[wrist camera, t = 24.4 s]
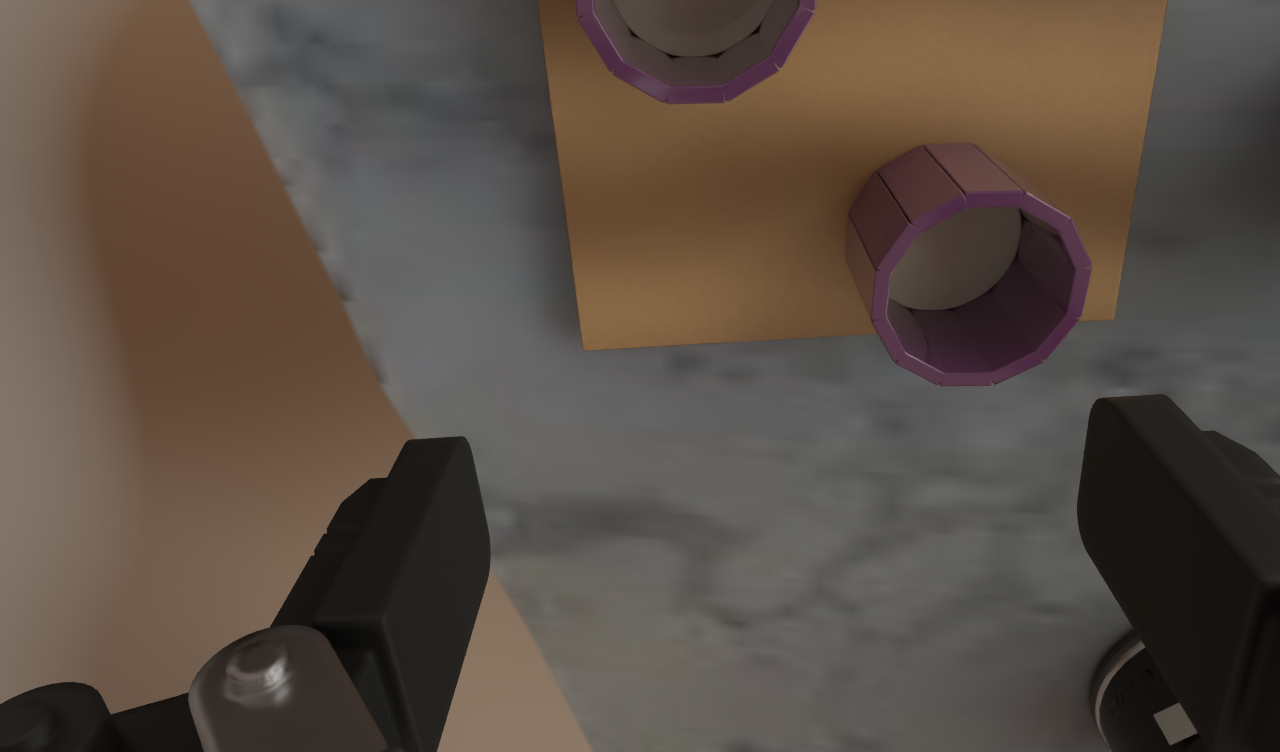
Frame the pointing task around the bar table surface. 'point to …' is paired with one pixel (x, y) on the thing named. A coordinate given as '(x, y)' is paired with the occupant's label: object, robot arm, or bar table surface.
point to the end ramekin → (964, 265)
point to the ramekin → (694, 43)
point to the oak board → (835, 157)
